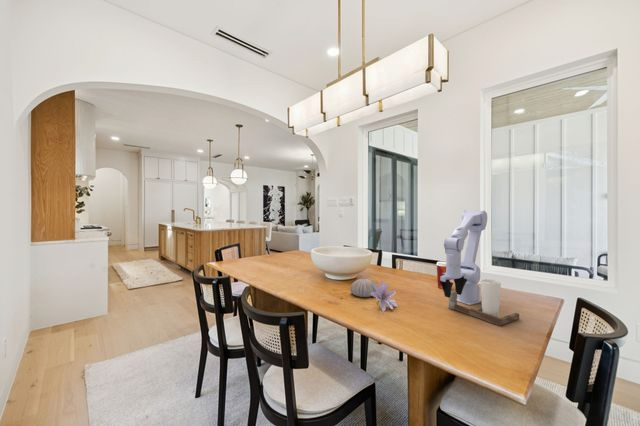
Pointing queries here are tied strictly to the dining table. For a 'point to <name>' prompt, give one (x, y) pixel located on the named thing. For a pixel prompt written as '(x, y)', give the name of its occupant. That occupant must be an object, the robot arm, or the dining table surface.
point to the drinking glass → (490, 296)
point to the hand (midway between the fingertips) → (453, 295)
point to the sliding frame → (480, 312)
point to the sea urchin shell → (362, 288)
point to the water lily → (384, 296)
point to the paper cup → (440, 272)
